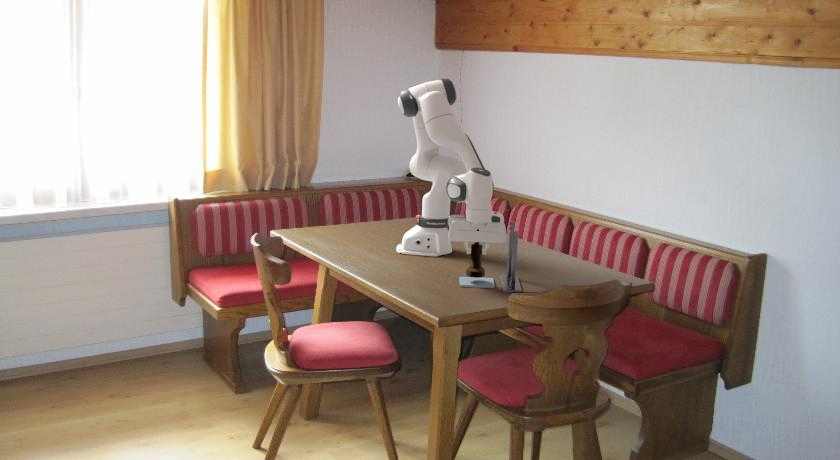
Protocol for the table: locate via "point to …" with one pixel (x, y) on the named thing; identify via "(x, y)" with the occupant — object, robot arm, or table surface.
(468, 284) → the mat
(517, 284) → the retort stand
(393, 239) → the table surface
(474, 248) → the wooden turned spindle
